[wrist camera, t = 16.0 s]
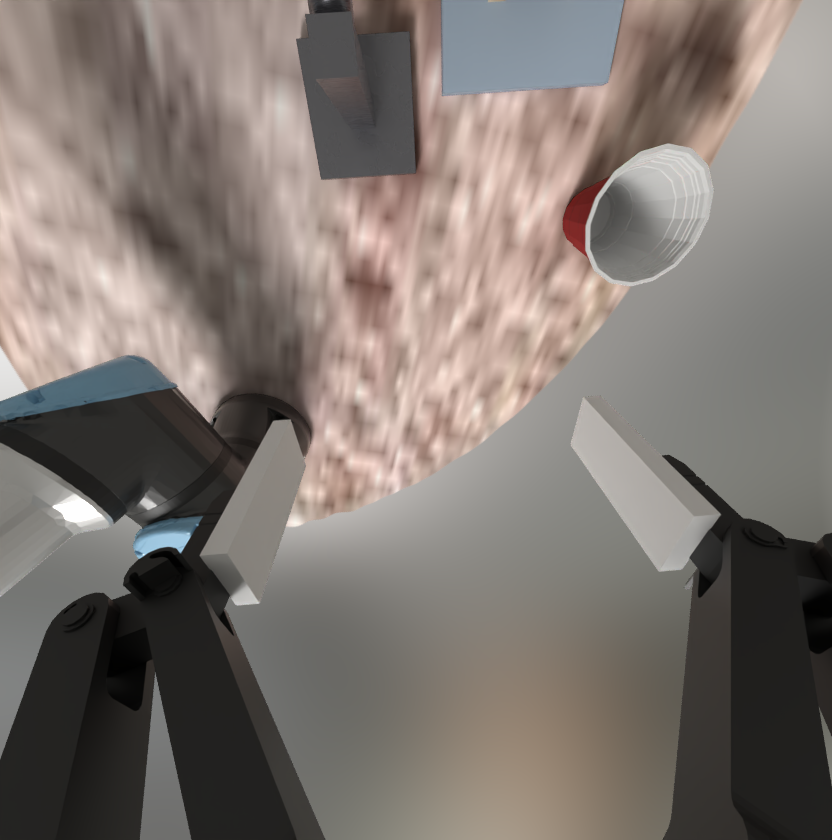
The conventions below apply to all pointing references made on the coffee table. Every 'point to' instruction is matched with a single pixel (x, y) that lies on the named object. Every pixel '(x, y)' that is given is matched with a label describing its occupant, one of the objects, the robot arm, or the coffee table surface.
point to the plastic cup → (642, 215)
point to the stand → (357, 95)
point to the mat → (526, 44)
